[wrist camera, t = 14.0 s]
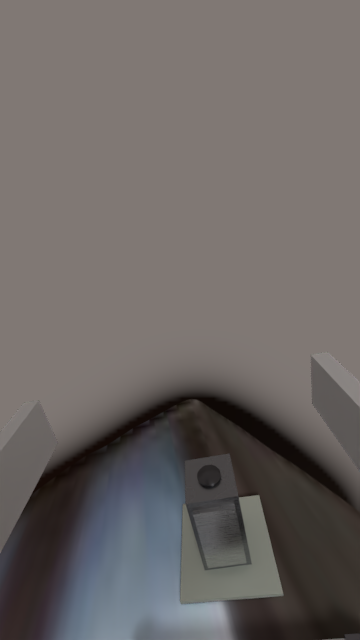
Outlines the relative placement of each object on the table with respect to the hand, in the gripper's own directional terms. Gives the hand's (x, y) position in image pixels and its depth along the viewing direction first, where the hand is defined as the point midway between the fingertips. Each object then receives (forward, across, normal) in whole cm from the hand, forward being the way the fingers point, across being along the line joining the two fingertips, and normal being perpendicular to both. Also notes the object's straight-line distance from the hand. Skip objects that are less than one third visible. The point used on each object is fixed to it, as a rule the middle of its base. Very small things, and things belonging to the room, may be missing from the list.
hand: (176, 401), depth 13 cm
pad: (+9, 0, -27) cm, 29 cm away
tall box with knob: (+9, 0, -27) cm, 28 cm away
